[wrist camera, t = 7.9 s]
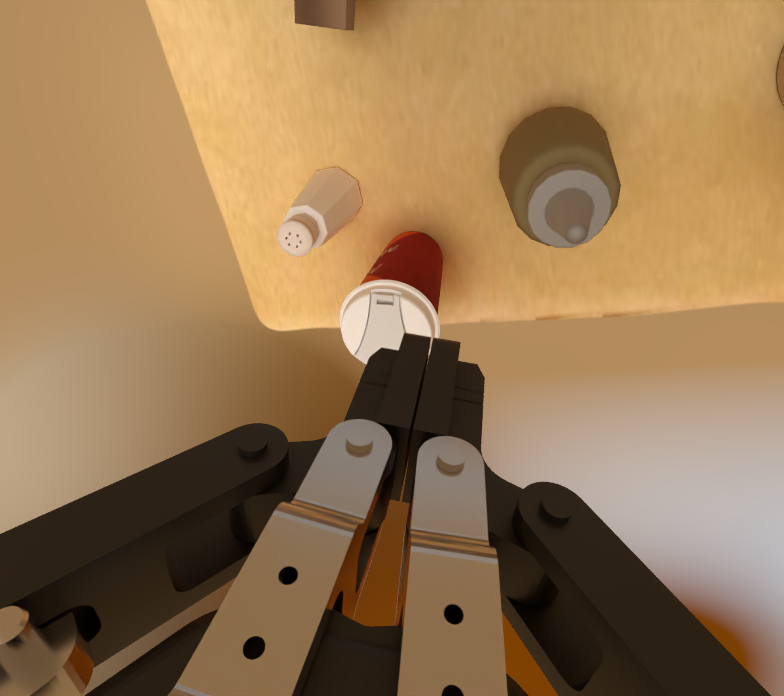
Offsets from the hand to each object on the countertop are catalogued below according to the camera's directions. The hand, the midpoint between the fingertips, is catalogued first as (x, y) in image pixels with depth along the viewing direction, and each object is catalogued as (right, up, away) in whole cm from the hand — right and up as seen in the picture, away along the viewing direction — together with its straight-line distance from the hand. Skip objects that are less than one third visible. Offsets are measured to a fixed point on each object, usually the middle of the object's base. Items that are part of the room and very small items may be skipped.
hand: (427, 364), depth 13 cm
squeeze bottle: (+12, +16, +27) cm, 34 cm away
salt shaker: (-6, +15, +32) cm, 36 cm away
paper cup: (+1, +9, +34) cm, 36 cm away
